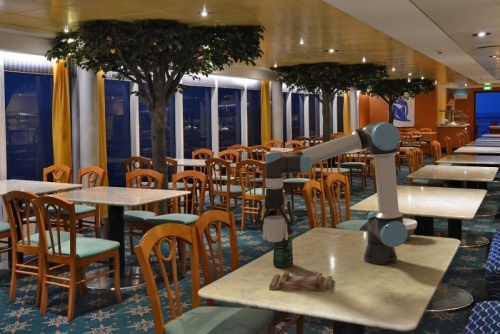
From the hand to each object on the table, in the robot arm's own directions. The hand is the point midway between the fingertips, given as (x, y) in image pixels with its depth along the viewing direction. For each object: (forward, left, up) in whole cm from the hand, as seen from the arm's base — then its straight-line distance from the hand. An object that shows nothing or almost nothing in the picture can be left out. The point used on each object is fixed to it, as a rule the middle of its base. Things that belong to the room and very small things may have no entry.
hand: (275, 239), depth 239 cm
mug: (0, 0, 0) cm, 1 cm away
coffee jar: (-1, -13, -15) cm, 20 cm away
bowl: (-57, -74, -15) cm, 95 cm away
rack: (-12, +15, -15) cm, 24 cm away
